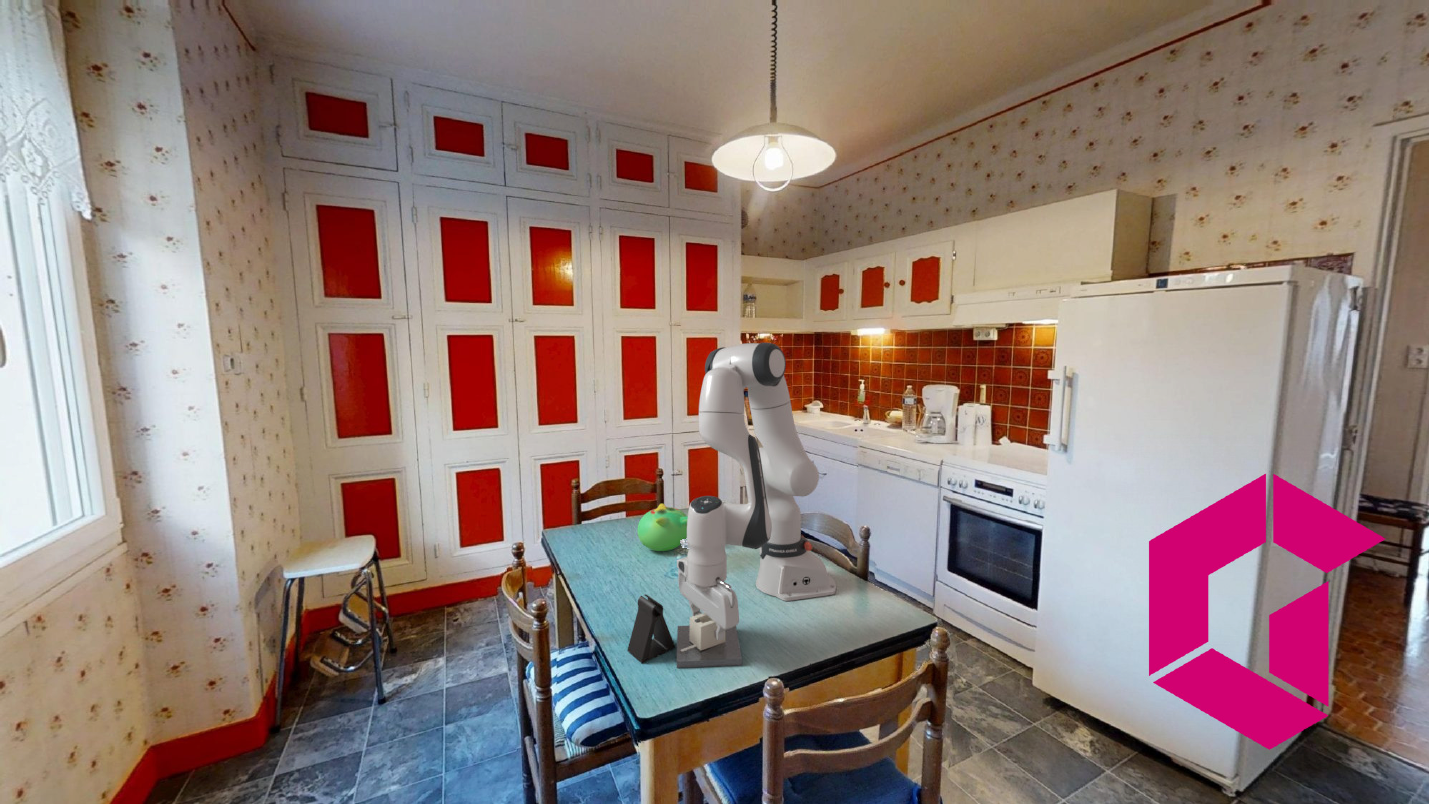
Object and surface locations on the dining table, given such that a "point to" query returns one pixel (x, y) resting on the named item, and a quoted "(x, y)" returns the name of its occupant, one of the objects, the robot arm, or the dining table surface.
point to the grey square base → (708, 651)
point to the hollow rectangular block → (703, 632)
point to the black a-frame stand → (649, 631)
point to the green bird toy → (662, 528)
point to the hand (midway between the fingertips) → (707, 628)
